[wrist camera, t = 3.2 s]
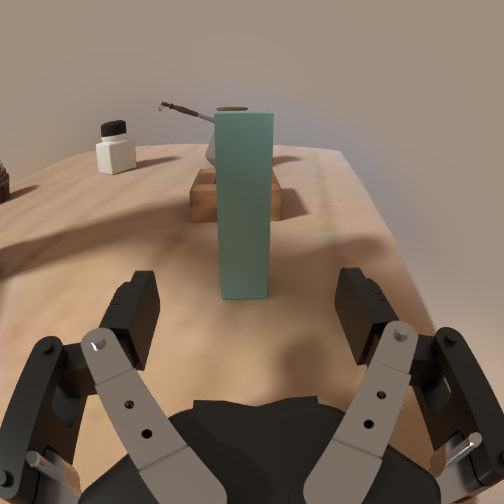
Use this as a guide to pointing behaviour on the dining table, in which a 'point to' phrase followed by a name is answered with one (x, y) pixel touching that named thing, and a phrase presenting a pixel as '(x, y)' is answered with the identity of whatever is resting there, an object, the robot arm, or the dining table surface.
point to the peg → (244, 200)
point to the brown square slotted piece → (206, 198)
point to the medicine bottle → (115, 149)
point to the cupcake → (4, 184)
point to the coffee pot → (211, 148)
